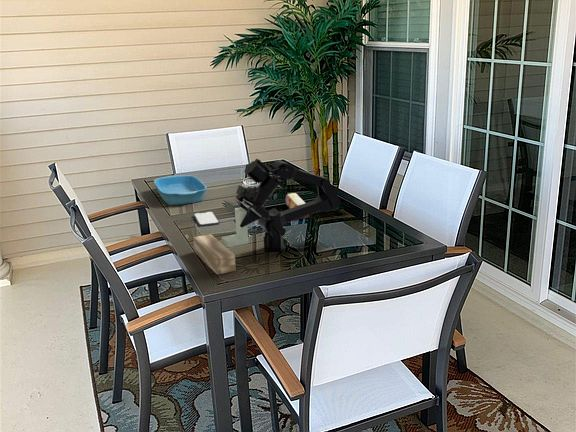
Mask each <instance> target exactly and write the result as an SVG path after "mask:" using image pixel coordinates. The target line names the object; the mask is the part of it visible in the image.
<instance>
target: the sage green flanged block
mask: <svg viewBox="0 0 576 432" xmlns="http://www.w3.org/2000/svg"><path fill="white" fill-rule="evenodd" d="M246 214H247V211H246V210H245V209H243V208H241V207H240V208H239V207H235V208H234V220H235V222H236V223H235V222H234V223H235V233H234V234H231V235H226V236H224V235H223V236H221V243H222V244H223V245H224V246H225V247H226V248H232V247H236V246H241V245H246V244H249V243H250V239H249V232H248V231H249V229H248V228H249V227H248V225H246V226H244V227H240V224H241V222H242V221H243V219H244V218H245V216H246Z"/></svg>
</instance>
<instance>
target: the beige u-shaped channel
mask: <svg viewBox="0 0 576 432" xmlns="http://www.w3.org/2000/svg"><path fill="white" fill-rule="evenodd" d="M192 239H193V251H194V254H196V255H197V256H198V257H199V258H200V259H201V260H202V261H203V262H204V263H205V264H206V266H208V267H209V268H210V269H211V270H212V271H213V272H214V273H215V274H216V275H221V274H226V273H230V272H231V273H232V272H236V267H237V266H236V254H235V253H233V252H232V251H231V250H230V249H229V247H227V246H226V245H225V244H223V243H222V242H221V241H220V240H218V239H217V238H216V237H214V236H213V234H211V233H209V234H203V235H198V236H193V237H192Z"/></svg>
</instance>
